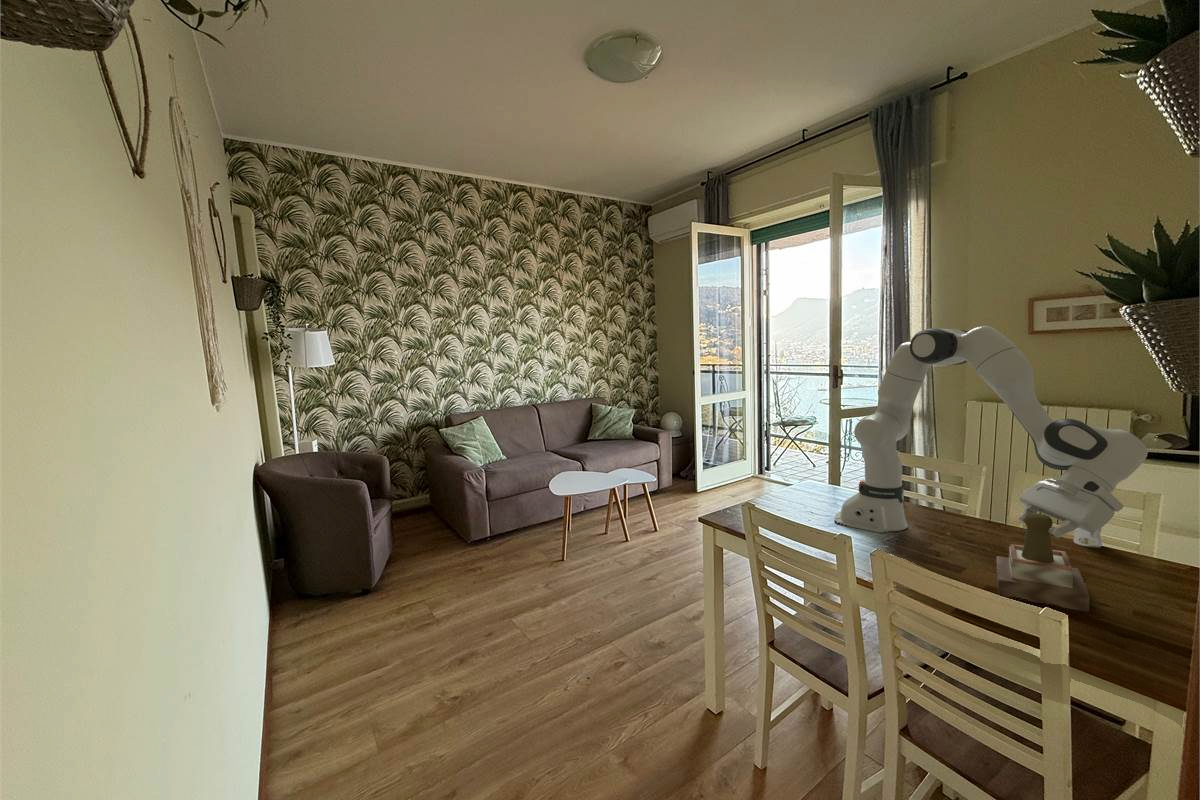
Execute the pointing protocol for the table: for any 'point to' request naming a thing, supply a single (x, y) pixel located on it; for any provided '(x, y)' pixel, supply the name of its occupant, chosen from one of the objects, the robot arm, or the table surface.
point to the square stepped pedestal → (1042, 580)
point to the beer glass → (1088, 538)
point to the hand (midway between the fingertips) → (1037, 528)
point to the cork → (1038, 538)
